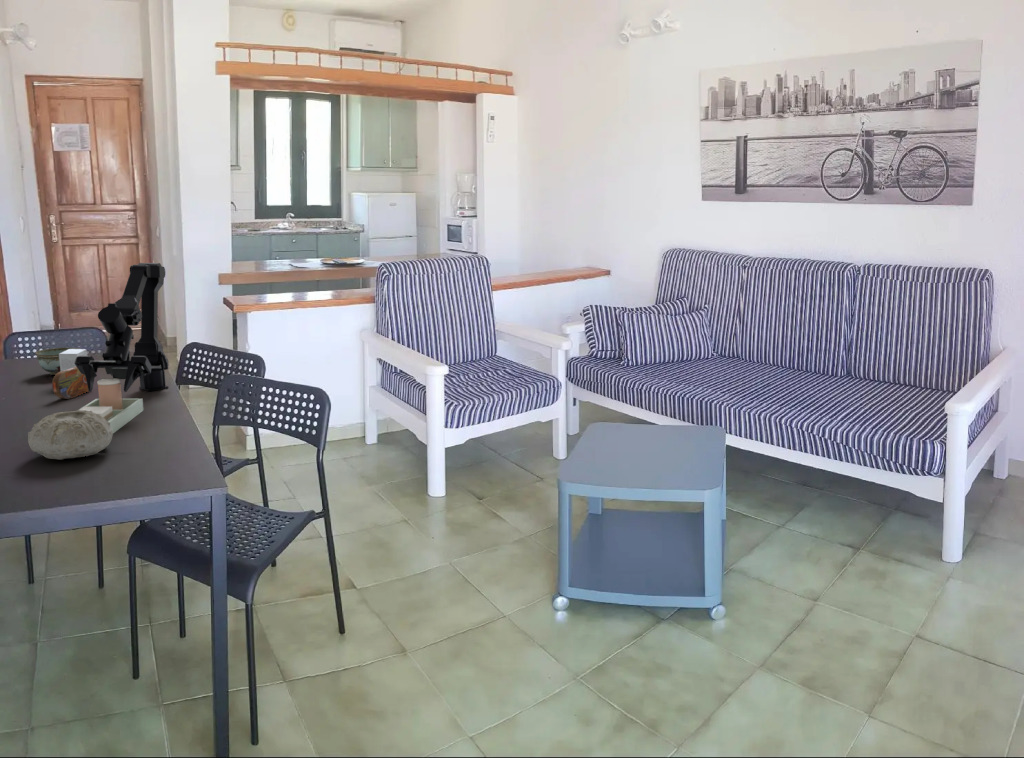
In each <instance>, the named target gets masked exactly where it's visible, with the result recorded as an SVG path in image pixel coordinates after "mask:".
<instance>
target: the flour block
mask: <svg viewBox="0 0 1024 758" xmlns="http://www.w3.org/2000/svg"><path fill="white" fill-rule="evenodd" d="M82 407H83V408H82ZM82 407H81V408H82V409H81V408H79V409H80V410H87V411H92V412H93V413H96V414H99V415H100V416H102V417H103V418H104V419H106V420H107V421H109V420H110V419H112V418H113V410H112V407H84V406H82Z"/></svg>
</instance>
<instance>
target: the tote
mask: <svg viewBox="0 0 1024 758" xmlns="http://www.w3.org/2000/svg"><path fill="white" fill-rule="evenodd" d="M122 406H123V410H113V418H112V419H110V420H109V421H108V422H110V426H111V428H112V431H113V434H114V433H116V432H118V431H119V430H120V429H121V428H122V427H124V426H125V425H127V424H128V423H129V422H130V421H132V420H133V419H134V418H136V417H137V416H139V414H140V413H142V412H144V400H143V398H122ZM83 407H100V403H99V398H95V399H93V400H91V402H89V403H87V404H86V405H83V406H82V407H80V408H79V409H78V410H80V409H82V408H83Z"/></svg>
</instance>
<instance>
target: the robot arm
mask: <svg viewBox="0 0 1024 758" xmlns="http://www.w3.org/2000/svg"><path fill="white" fill-rule="evenodd" d="M165 278H166V269H165V267H164V266H162V264H161V263H160V262H138V264H132V265H130V267H129V276H128V278H127V281H126V284H125V288H124V291H123V294H122V296H121V298H119V299H117V300H116V301H115V302H113V303H112V302H111V303H110V302H109V303H108V304H107V306H105V307H103V308H101V309H100V311H98V313H97V318H98V320H99V321H100V323H101V325H102V327H103V329H104V330H105V332H106V333H108V334H109V336H108V340H105V342H104V343H105V346H106V348H105V352H103V353H102V355H101V357H102V360H95V359H94V357H93V355H87V356H78V357H77V358H76V359H75V363H74V364H75V365H76V367H77V368H78V369H79V371H80V372H81V373H82V374H84V375H85V376H86V380H87V385H88V390H89V392H88V393H92V391H93V388H94V384H95V378H96V377H98V375H97V373H98V370H99V369H105V372H106V375H111V376H112V378H117V379H120V380H124V385H123V391H124V393H127V392H128V390H129V389H130V388H131V387H132V385H133V384H134V383H135V381H136V380H137V379H138V378H139V387H138V388H139V389H140V390H144V391H147V392H153V391H158V390H163V389H168V388H169V386H168V385H166V375H165V371H166V370H169V360H168V357H167V355H166V354H165V352H164V349H163V348H164V346H163V345H162V343H161V342H160V340H159V338H158V327H159V326H158V315H159V314H158V313H159V312H158V310H159V307H158V305H159V304H158V301H159V299H158V298H159V295H158V294H159V291H160V289H161V288H163V285H164V282H165V281H164V280H165ZM140 302H141V303H140ZM139 305H140V306H141V309H140V306H139ZM139 324H140V338H139V340H138V341H136V342H135V343H134V351H133V355H131V351H130V347H131V342H132V340H134V339H135V338H134V331H133V329H132V328H131V326H134V327H135V326H138V325H139ZM130 356H131V357H130Z"/></svg>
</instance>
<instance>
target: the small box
mask: <svg viewBox="0 0 1024 758" xmlns="http://www.w3.org/2000/svg"><path fill="white" fill-rule="evenodd" d="M78 356H88V352H87V349H85V348H79V349H68V350H66V351H64V352H62V353H60V354H59V361H60V370H61V371H64V370H67V369H71V368H74V367H76V365H75V364H74V363H75V359H76V358H77V357H78Z"/></svg>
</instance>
